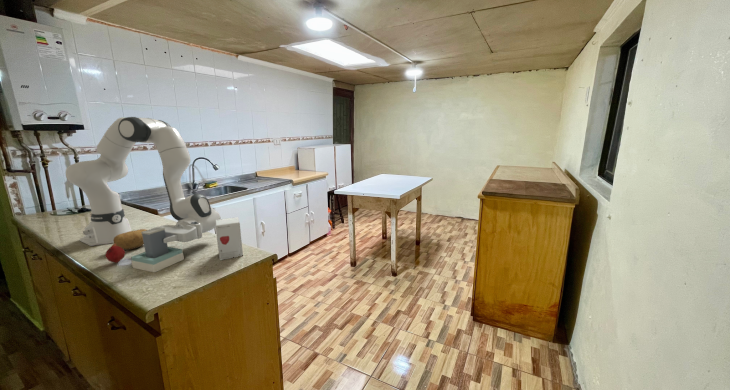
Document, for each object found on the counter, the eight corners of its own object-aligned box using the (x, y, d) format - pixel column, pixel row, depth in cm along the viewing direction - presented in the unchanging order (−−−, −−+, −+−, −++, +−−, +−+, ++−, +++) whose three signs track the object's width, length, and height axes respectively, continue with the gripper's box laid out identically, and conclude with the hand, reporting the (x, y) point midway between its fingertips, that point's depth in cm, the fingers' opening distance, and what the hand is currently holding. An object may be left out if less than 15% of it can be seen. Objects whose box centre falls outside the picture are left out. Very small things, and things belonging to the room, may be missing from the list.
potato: (157, 244, 136) (154, 227, 134) (122, 255, 123) (119, 237, 122) (145, 240, 140) (142, 225, 138) (110, 251, 127) (106, 234, 126)
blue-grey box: (146, 258, 113) (141, 232, 110) (161, 252, 118) (157, 227, 116) (153, 260, 111) (148, 233, 109) (169, 253, 117) (164, 228, 114)
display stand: (132, 267, 112) (130, 256, 111) (163, 255, 123) (161, 245, 122) (154, 272, 108) (152, 261, 107) (183, 259, 119) (182, 249, 118)
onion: (115, 266, 113) (111, 247, 111) (103, 265, 114) (99, 246, 112) (130, 260, 119) (126, 241, 117) (118, 259, 120) (114, 240, 118)
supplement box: (219, 260, 117) (215, 225, 114) (219, 252, 125) (214, 219, 122) (243, 256, 121) (239, 222, 118) (241, 248, 129) (238, 216, 126)
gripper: (168, 219, 128) (135, 229, 116) (203, 224, 122) (171, 234, 109) (170, 233, 130) (138, 244, 117) (205, 238, 123) (174, 250, 110)
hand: (154, 239), depth 113 cm, fingers open, 8 cm apart
